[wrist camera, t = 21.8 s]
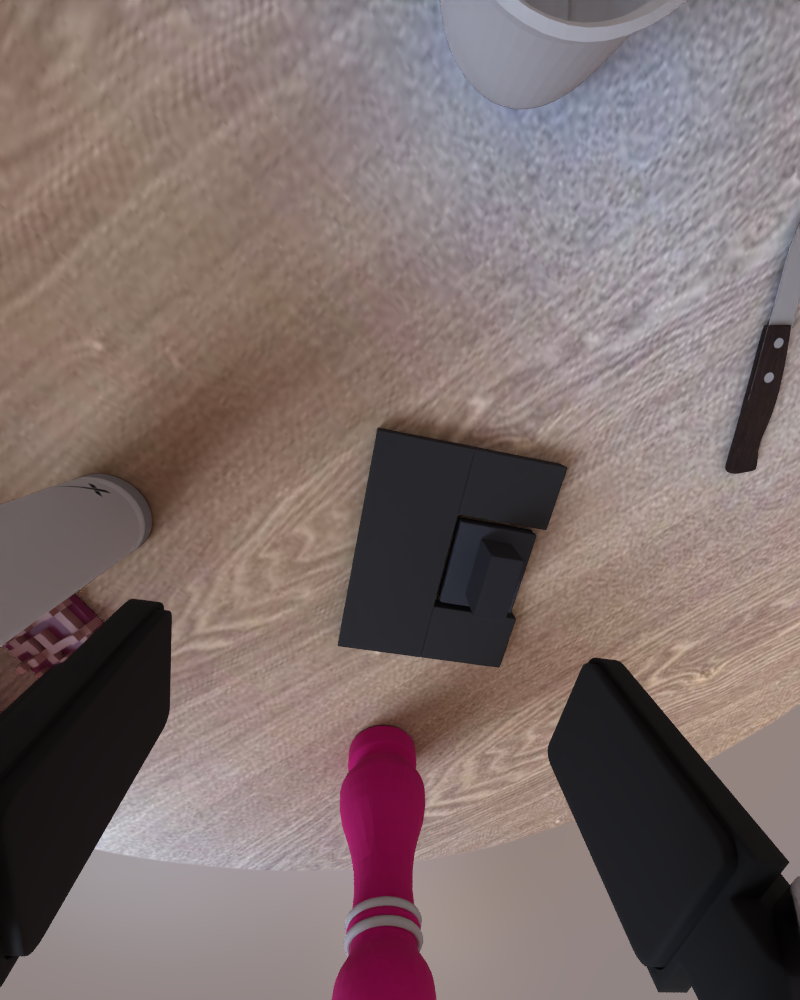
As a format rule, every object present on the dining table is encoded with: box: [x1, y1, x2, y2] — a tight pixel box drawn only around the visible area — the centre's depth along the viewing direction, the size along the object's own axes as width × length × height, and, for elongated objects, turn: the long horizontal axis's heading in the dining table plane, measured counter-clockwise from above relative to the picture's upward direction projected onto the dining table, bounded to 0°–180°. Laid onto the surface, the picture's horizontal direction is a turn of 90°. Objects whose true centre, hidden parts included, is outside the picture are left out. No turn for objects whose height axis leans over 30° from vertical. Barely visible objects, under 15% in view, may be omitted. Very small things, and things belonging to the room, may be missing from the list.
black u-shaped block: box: [338, 428, 567, 667], centre depth 31 cm, size 18×14×1 cm
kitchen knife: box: [726, 224, 800, 474], centre depth 27 cm, size 18×1×2 cm
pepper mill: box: [332, 726, 436, 1000], centre depth 28 cm, size 7×7×20 cm
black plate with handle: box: [439, 517, 536, 621], centre depth 30 cm, size 7×6×4 cm
